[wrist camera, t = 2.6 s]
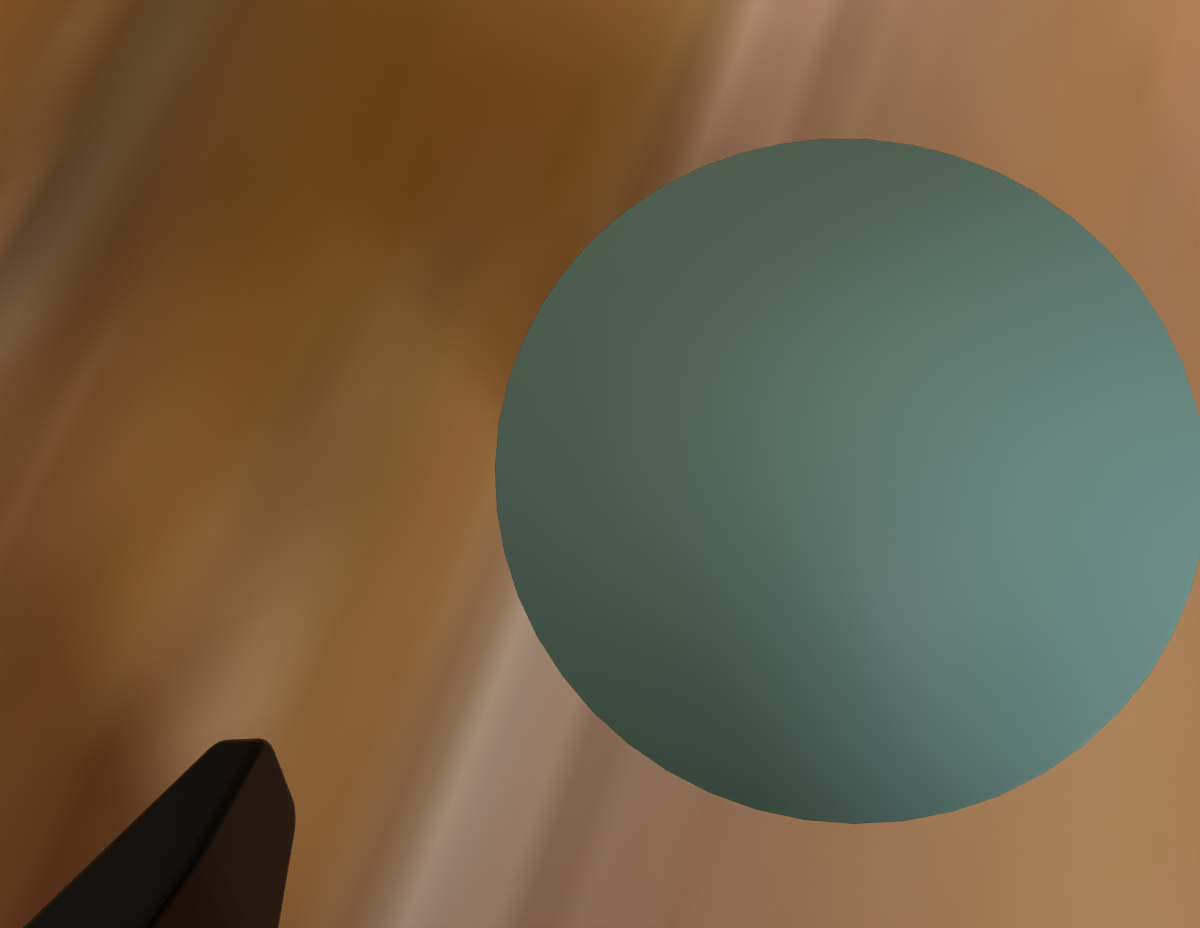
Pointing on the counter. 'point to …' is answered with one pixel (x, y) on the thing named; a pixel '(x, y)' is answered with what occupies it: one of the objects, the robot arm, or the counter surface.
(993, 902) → the counter surface
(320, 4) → the counter surface
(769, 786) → the peg
